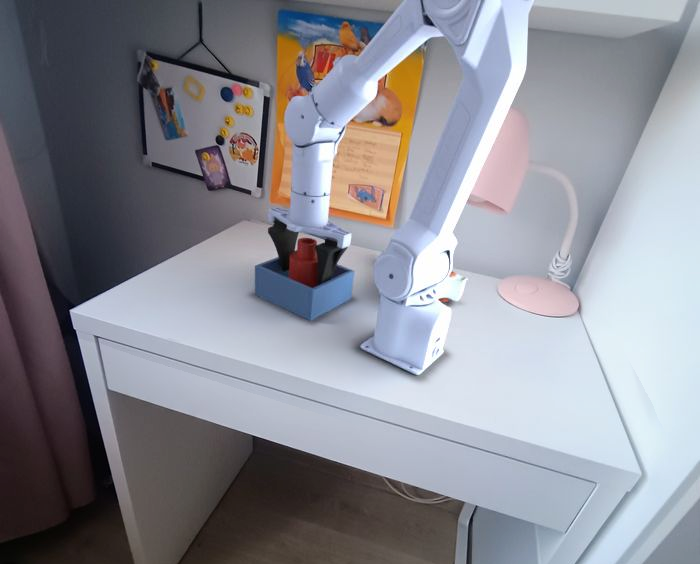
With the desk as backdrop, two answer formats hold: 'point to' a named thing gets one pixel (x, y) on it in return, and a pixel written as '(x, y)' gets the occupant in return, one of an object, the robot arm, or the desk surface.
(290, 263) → the bottle
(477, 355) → the desk surface
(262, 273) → the tub
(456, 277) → the tape dispenser
